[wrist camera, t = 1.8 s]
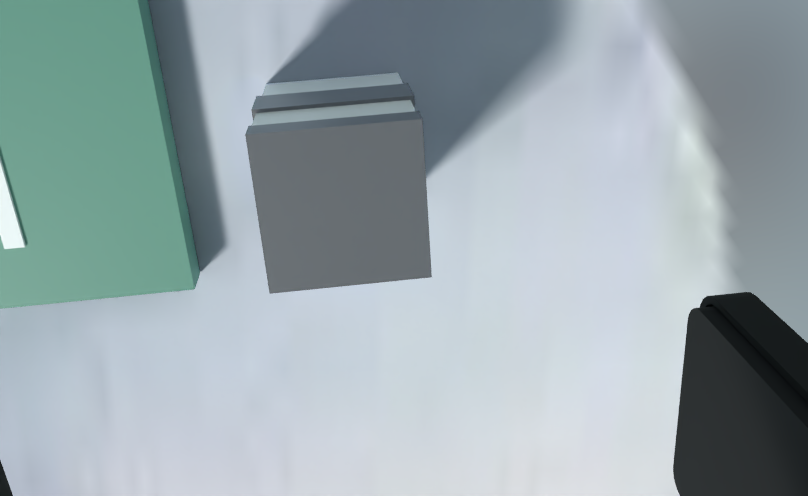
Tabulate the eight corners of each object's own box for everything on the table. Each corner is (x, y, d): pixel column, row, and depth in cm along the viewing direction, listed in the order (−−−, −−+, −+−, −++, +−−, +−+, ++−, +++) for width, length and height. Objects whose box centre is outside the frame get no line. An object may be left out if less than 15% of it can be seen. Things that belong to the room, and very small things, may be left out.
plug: (409, 196, 25) (433, 276, 20) (280, 209, 25) (267, 293, 19) (401, 68, 24) (424, 116, 18) (262, 80, 23) (242, 132, 18)
